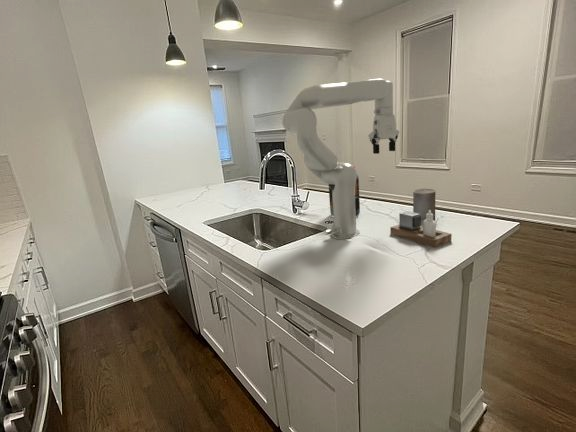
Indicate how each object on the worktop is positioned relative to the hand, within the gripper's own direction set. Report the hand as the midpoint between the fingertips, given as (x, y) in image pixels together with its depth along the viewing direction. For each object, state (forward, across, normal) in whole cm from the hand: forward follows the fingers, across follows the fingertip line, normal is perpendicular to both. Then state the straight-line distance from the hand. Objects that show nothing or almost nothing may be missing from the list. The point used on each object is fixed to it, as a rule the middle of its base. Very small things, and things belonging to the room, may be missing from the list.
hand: (384, 152), depth 142 cm
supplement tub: (+34, -4, +25) cm, 42 cm away
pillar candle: (+34, +17, -8) cm, 38 cm away
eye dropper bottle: (+32, -7, -30) cm, 45 cm away
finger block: (+32, -7, -20) cm, 39 cm away
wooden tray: (+33, -7, -25) cm, 42 cm away
